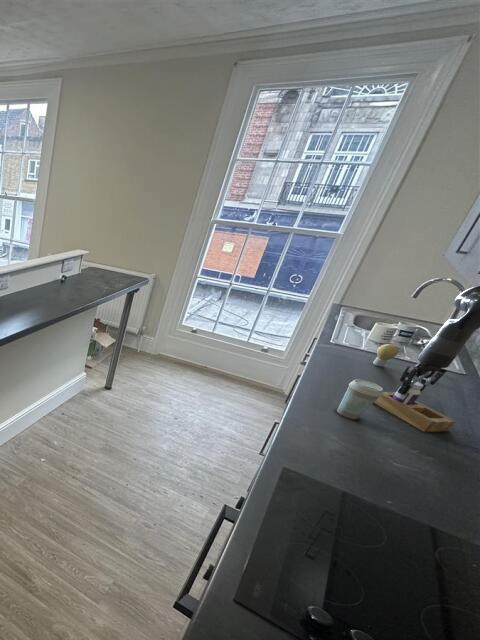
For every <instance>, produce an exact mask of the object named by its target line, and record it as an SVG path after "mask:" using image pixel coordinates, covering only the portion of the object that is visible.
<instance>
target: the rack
mask: <svg viewBox="0 0 480 640" xmlns="http://www.w3.org/2000/svg"><path fill="white" fill-rule="evenodd" d="M396 392H397V391H383V392H382V393H383V394H382V396H380V397H378V398H377V399H376V401H375V402H374V403H373V404H375V405H376V406H378V407H380V408H382V409H383V410H385V411H387V412H389V413H391V414H392V415H394V416H395V417H397V418H399V419H401V420H403V421H404V422H407V423H408V424H410V425H412V426H413V427H415V428H416V429H419V430H420V431H422V432H423V433H424V432H427V433H429V432H449V431H450V430H451V428H453V426H454V425H455V424H456V423H457V421H456V420H454V419H452V418H451V417H448V416H446V415H444V414H443V413H441V412H439V411H437V410H435V409H433V408H431V407H430V406H427V405H425V404H424V403H421V402H419V401H418V400H417V399H416V400H415V402H414V403H413V404H412V405H404V404H403V403H401V402H399V401H397V400H395V399H393V398H392V397H393V396H394V394H395V393H396Z"/></svg>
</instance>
